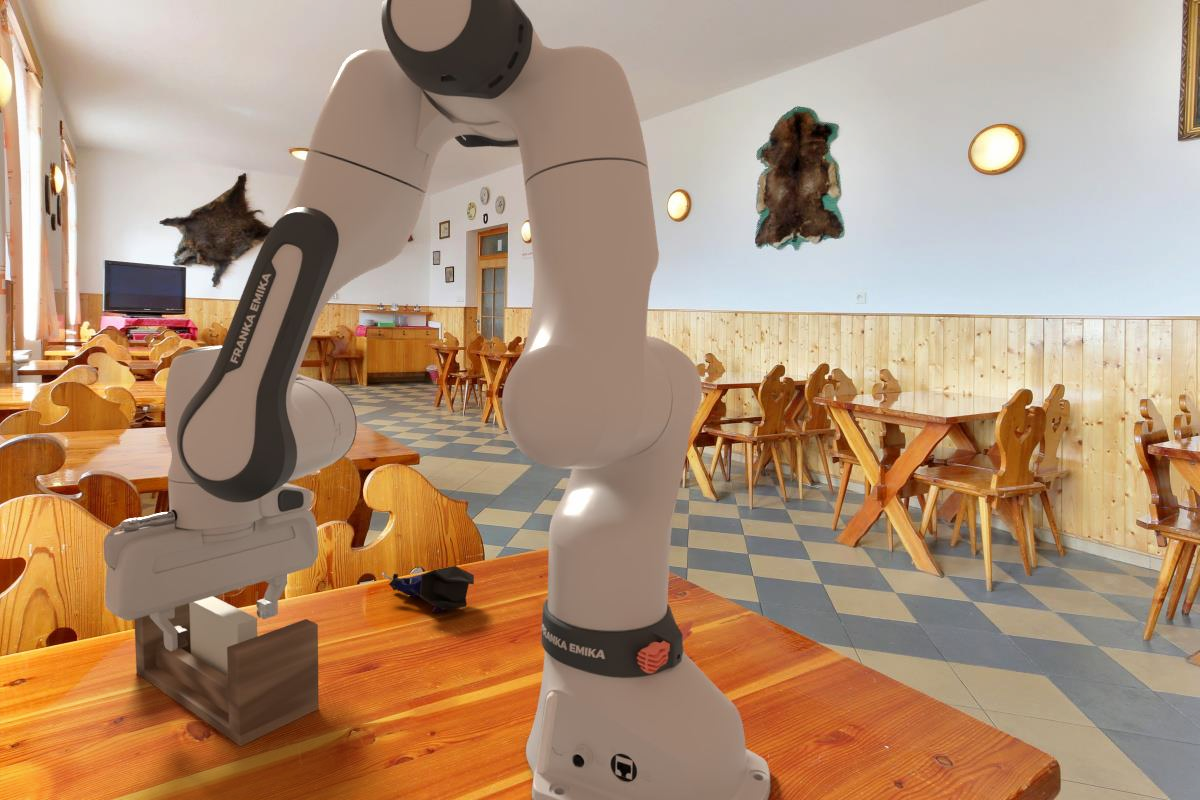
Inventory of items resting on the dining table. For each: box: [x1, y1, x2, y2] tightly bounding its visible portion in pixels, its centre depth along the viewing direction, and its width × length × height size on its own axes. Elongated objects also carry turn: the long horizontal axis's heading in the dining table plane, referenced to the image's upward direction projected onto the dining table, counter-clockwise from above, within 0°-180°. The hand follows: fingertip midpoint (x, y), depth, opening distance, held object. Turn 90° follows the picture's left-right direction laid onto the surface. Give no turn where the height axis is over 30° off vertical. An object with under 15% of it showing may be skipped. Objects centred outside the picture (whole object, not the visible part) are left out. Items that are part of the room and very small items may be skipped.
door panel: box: [189, 596, 258, 677], centre depth 73 cm, size 10×2×8 cm, turn 55°
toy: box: [381, 565, 475, 614], centre depth 97 cm, size 9×6×15 cm
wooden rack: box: [134, 595, 320, 747], centre depth 73 cm, size 22×8×9 cm, turn 55°
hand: (224, 631), depth 72 cm, fingers open, 8 cm apart
